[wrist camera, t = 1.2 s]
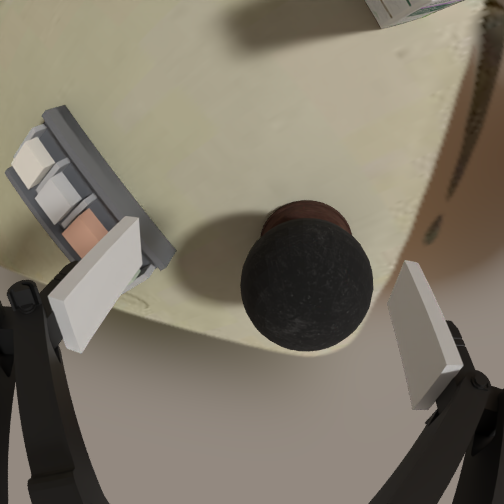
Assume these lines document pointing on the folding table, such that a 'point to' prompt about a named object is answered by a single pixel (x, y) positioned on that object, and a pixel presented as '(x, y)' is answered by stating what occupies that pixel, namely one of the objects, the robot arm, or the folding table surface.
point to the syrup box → (405, 10)
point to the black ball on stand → (306, 278)
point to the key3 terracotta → (84, 232)
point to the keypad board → (88, 191)
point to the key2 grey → (57, 197)
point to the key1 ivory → (32, 162)
